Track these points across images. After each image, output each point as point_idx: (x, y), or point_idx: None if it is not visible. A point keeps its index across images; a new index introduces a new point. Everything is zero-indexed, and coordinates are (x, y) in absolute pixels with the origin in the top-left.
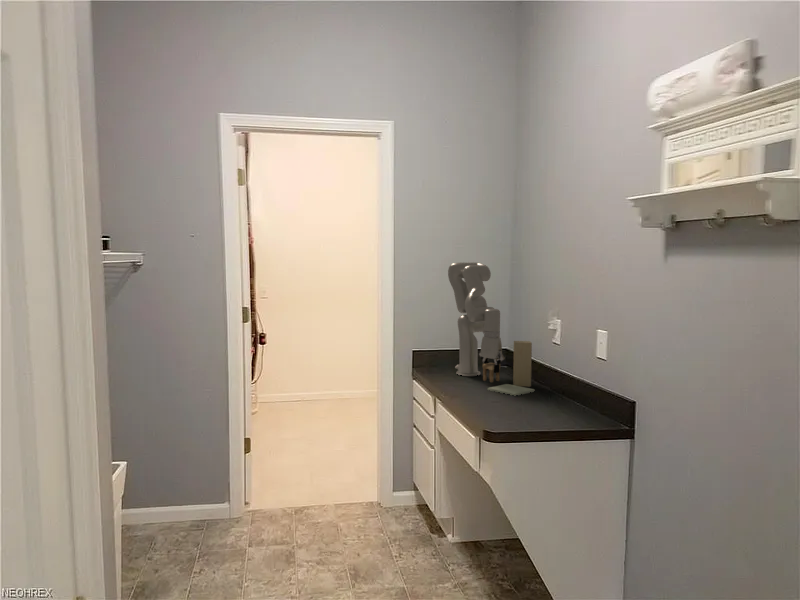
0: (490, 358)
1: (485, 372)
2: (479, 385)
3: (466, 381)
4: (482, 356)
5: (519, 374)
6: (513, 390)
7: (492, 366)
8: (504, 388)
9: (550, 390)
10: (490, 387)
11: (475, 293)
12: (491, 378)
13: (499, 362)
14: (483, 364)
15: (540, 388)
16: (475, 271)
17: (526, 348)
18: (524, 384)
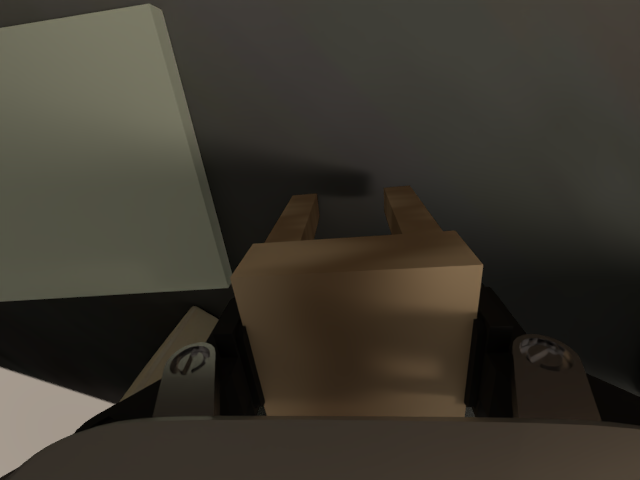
0: (249, 416)
1: (396, 228)
2: (381, 106)
3: (609, 127)
4: (636, 429)
5: (125, 397)
6: None
7: (235, 282)
8: (76, 146)
9: (22, 372)
10: (161, 57)
11: None
12: (288, 206)
13: (115, 404)
14: (453, 262)
15: (86, 370)
16: None
17: None
18: (155, 353)
